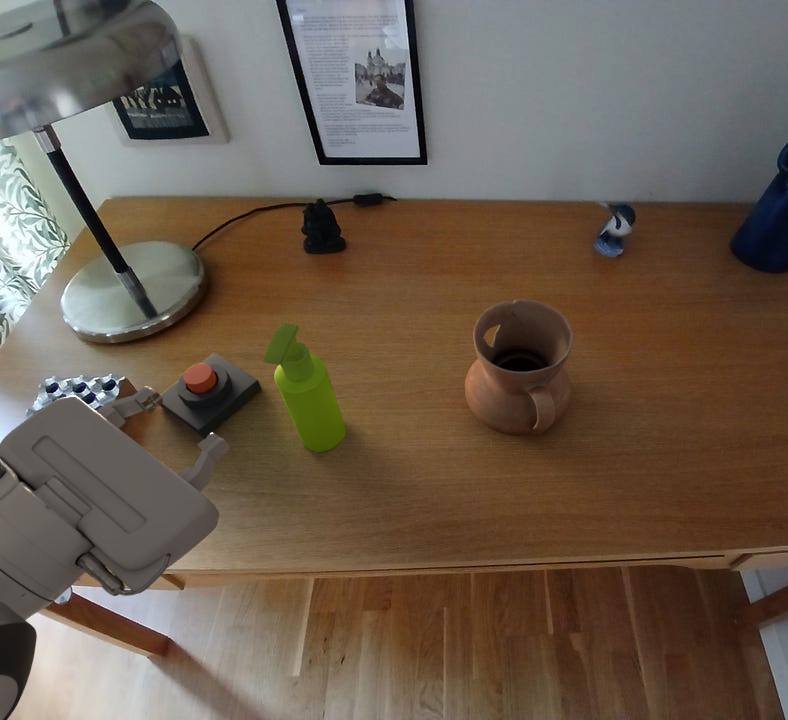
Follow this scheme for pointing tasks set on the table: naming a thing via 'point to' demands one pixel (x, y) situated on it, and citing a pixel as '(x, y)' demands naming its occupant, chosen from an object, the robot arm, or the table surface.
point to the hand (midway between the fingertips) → (188, 415)
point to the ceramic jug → (520, 368)
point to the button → (200, 378)
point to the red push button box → (211, 397)
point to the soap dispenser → (305, 390)
